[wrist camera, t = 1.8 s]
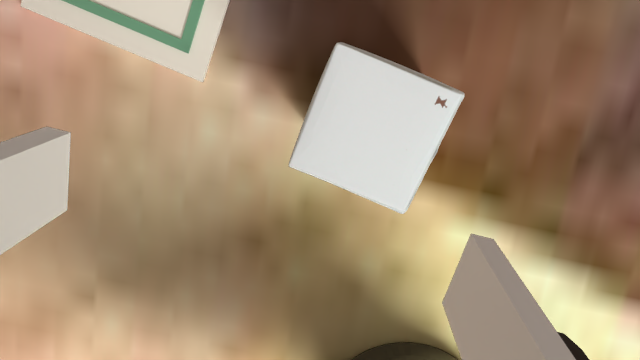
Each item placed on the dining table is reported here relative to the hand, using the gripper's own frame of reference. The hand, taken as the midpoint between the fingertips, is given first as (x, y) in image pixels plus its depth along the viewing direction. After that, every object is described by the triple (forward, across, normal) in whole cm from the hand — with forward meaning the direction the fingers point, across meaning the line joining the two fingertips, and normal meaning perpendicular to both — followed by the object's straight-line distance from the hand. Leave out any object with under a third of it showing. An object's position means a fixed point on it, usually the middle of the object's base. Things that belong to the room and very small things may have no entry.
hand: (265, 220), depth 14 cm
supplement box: (+22, -4, -1) cm, 23 cm away
